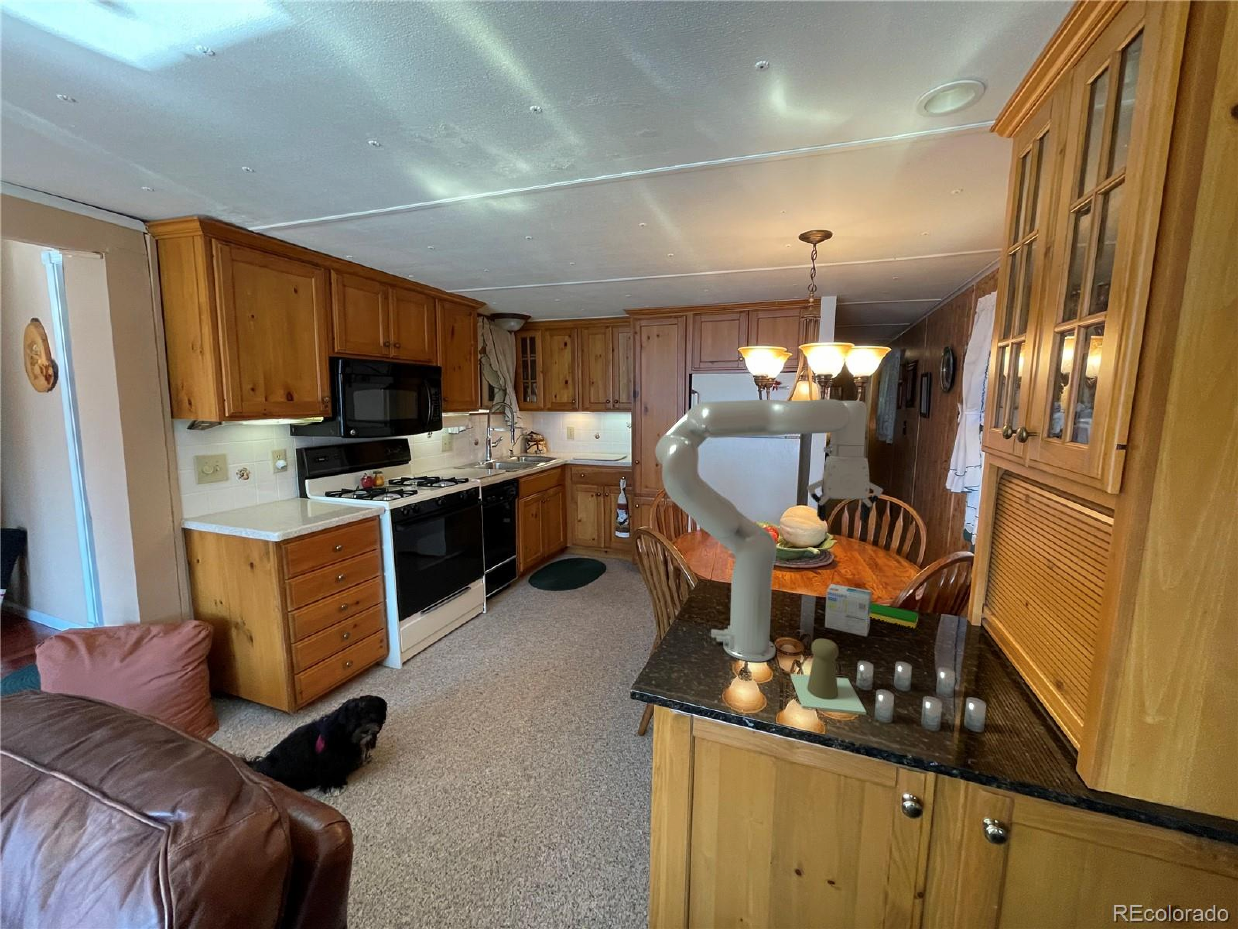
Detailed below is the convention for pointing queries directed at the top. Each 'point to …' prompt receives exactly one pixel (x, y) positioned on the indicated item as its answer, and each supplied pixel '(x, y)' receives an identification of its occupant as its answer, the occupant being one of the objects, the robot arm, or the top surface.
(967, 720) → the spacer field
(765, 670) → the top surface
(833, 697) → the olive rounded piece
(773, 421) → the robot arm
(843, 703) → the mat
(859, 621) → the light bulb box
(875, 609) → the dish sponge
